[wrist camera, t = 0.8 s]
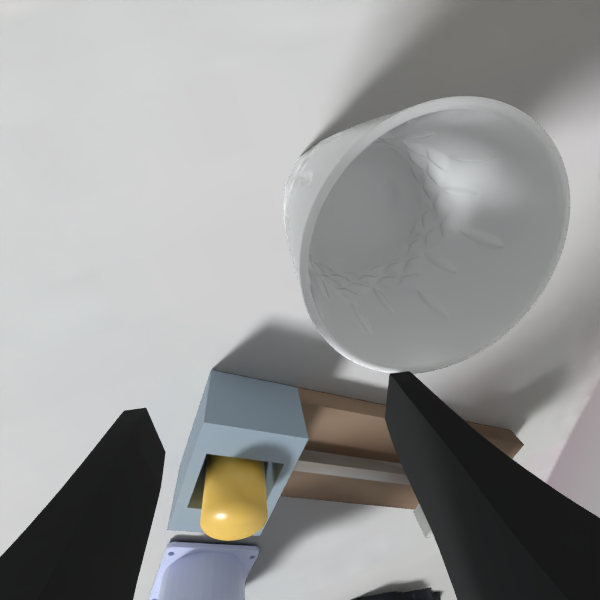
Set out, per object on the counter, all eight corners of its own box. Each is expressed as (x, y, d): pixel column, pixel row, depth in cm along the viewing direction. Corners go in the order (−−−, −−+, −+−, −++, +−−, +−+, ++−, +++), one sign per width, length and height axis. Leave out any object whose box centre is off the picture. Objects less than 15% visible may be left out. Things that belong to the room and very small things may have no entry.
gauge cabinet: (257, 475, 26) (260, 536, 22) (179, 466, 24) (167, 530, 20) (297, 387, 23) (308, 438, 19) (211, 370, 21) (203, 422, 17)
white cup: (246, 159, 17) (249, 176, 8) (393, 95, 16) (574, 37, 7) (302, 290, 20) (349, 408, 11) (423, 239, 20) (570, 318, 11)
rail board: (457, 499, 32) (473, 525, 30) (257, 475, 26) (258, 506, 24) (510, 430, 29) (533, 454, 26) (297, 387, 23) (303, 413, 21)
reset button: (254, 479, 23) (256, 542, 19) (201, 473, 22) (192, 538, 18) (271, 441, 21) (276, 501, 18) (215, 433, 20) (209, 494, 17)
